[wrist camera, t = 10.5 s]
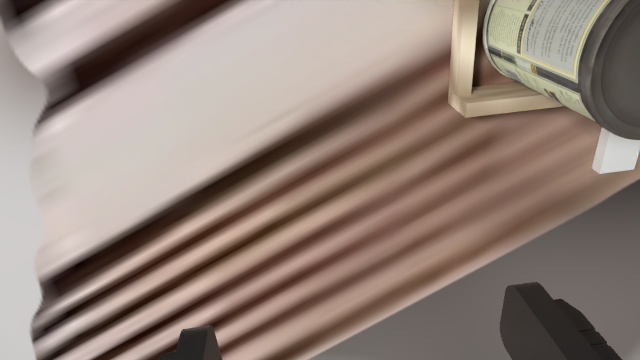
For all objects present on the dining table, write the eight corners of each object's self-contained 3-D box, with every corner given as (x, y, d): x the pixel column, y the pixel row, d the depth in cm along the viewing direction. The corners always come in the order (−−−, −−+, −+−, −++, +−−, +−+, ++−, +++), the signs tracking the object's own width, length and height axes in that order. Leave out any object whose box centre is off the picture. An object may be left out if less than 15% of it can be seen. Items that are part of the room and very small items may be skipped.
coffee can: (620, -39, 35) (813, -34, 22) (571, 85, 40) (708, 147, 27) (503, -57, 33) (640, -62, 21) (466, 75, 38) (560, 134, 26)
